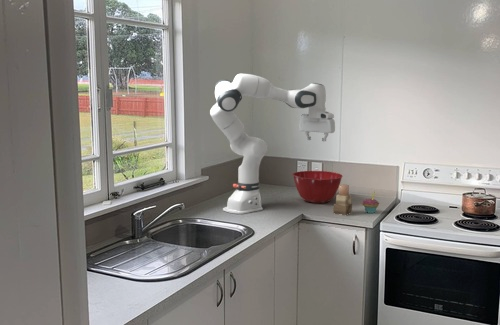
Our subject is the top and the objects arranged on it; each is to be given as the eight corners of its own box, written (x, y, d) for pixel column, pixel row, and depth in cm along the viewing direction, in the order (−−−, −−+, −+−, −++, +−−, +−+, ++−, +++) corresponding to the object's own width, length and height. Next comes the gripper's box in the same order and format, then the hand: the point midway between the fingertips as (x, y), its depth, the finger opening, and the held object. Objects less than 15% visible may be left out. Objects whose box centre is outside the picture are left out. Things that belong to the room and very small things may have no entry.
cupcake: (380, 211, 273) (381, 189, 271) (375, 215, 266) (376, 192, 264) (365, 209, 278) (366, 187, 276) (359, 212, 271) (360, 190, 269)
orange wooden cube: (345, 196, 265) (345, 186, 264) (336, 194, 268) (336, 185, 267) (350, 194, 268) (350, 185, 268) (341, 193, 272) (341, 183, 271)
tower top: (345, 206, 265) (345, 196, 264) (336, 204, 269) (336, 194, 268) (350, 204, 269) (351, 194, 268) (341, 202, 273) (342, 193, 272)
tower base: (345, 215, 265) (345, 206, 264) (333, 213, 269) (333, 204, 268) (351, 213, 270) (352, 203, 270) (339, 211, 275) (340, 201, 274)
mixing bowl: (319, 193, 318) (319, 168, 315) (352, 202, 294) (353, 175, 292) (282, 198, 302) (282, 173, 300) (314, 208, 279) (314, 180, 276)
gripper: (297, 113, 274) (296, 139, 276) (330, 115, 261) (329, 142, 264) (303, 113, 279) (303, 138, 281) (336, 114, 266) (336, 141, 268)
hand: (316, 140), depth 272 cm, fingers open, 8 cm apart
